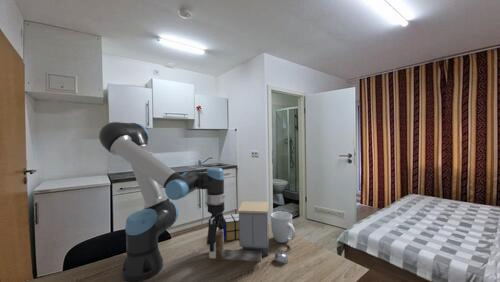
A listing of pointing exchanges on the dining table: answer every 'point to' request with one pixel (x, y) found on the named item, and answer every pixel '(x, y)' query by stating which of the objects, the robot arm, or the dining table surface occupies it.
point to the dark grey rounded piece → (281, 257)
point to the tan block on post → (234, 251)
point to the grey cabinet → (254, 226)
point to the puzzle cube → (231, 227)
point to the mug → (282, 226)
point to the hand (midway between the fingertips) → (216, 249)
